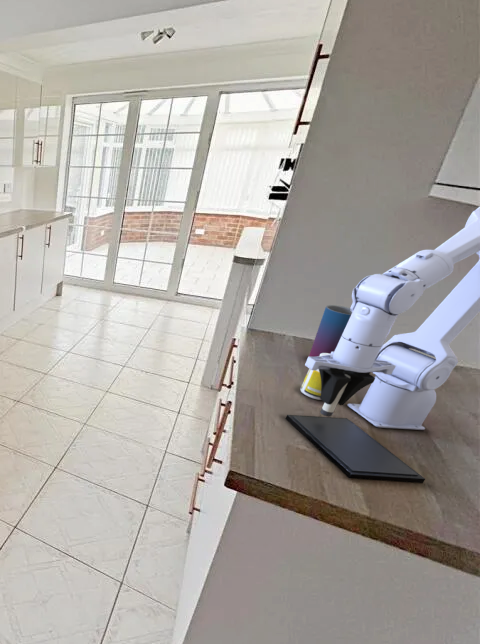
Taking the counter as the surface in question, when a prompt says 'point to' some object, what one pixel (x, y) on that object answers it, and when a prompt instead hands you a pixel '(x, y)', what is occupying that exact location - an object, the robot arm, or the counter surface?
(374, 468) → the tablet
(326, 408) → the stylus
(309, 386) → the supplement bottle
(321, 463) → the counter surface
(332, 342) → the cup
